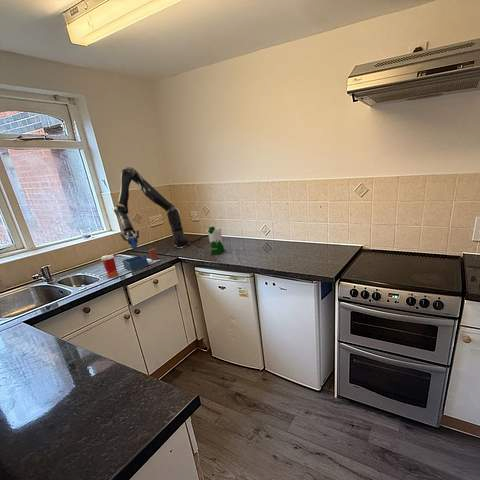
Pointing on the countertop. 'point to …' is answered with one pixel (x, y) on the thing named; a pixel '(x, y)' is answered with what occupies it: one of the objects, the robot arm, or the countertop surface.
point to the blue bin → (135, 262)
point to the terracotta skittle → (153, 254)
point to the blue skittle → (133, 242)
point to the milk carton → (215, 240)
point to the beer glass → (109, 265)
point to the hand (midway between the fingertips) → (133, 243)
